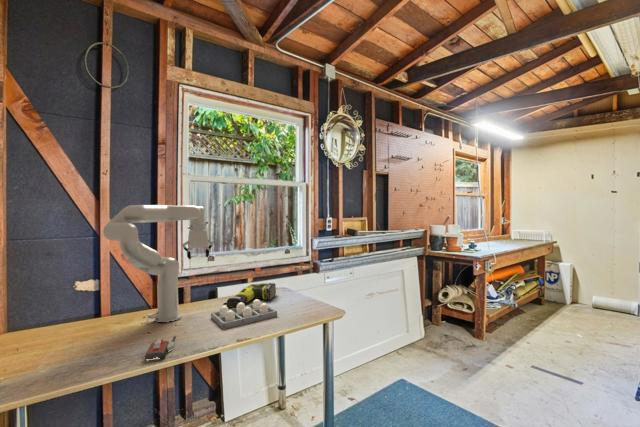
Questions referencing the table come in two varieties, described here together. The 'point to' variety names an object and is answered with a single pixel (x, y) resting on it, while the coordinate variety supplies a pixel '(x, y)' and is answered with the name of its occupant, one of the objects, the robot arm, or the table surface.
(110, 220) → the robot arm
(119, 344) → the table surface
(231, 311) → the egg crate
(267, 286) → the reciprocating saw
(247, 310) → the egg
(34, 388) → the table surface
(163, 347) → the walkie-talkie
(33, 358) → the table surface
